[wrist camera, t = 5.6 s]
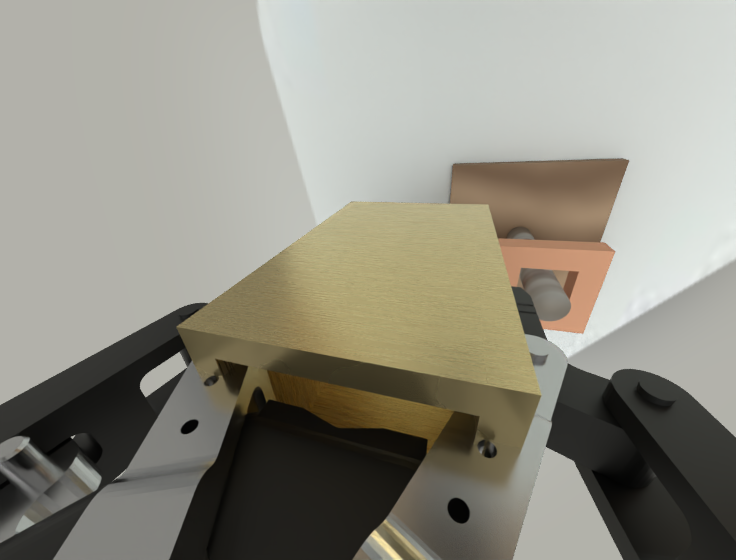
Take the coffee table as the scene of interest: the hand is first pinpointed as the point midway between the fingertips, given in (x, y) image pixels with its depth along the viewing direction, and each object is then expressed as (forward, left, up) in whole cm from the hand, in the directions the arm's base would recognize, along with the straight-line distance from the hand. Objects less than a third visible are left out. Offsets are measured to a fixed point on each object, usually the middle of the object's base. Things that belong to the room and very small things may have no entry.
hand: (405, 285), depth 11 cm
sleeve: (0, 0, -2) cm, 2 cm away
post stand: (+5, +8, -22) cm, 24 cm away
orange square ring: (+5, +8, -11) cm, 15 cm away
